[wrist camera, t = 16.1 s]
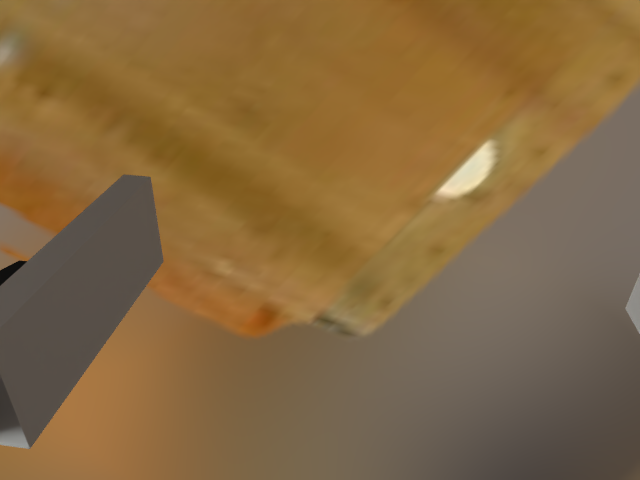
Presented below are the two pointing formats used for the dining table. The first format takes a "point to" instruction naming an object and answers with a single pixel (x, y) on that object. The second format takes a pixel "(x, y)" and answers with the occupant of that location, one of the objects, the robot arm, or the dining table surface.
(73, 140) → the dining table surface
